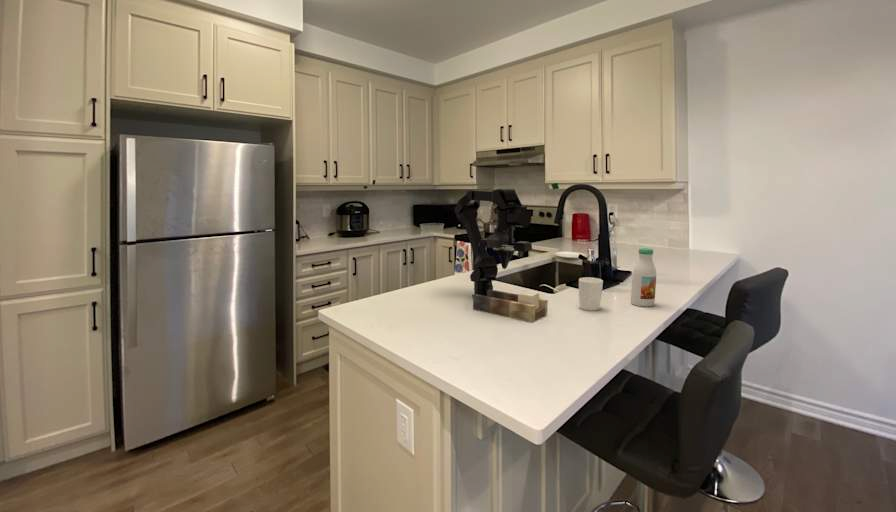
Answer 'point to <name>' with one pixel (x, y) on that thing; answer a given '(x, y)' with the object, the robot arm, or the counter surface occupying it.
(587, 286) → the white cup
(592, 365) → the counter surface
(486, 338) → the counter surface
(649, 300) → the milk bottle
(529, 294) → the cream block
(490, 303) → the channel
